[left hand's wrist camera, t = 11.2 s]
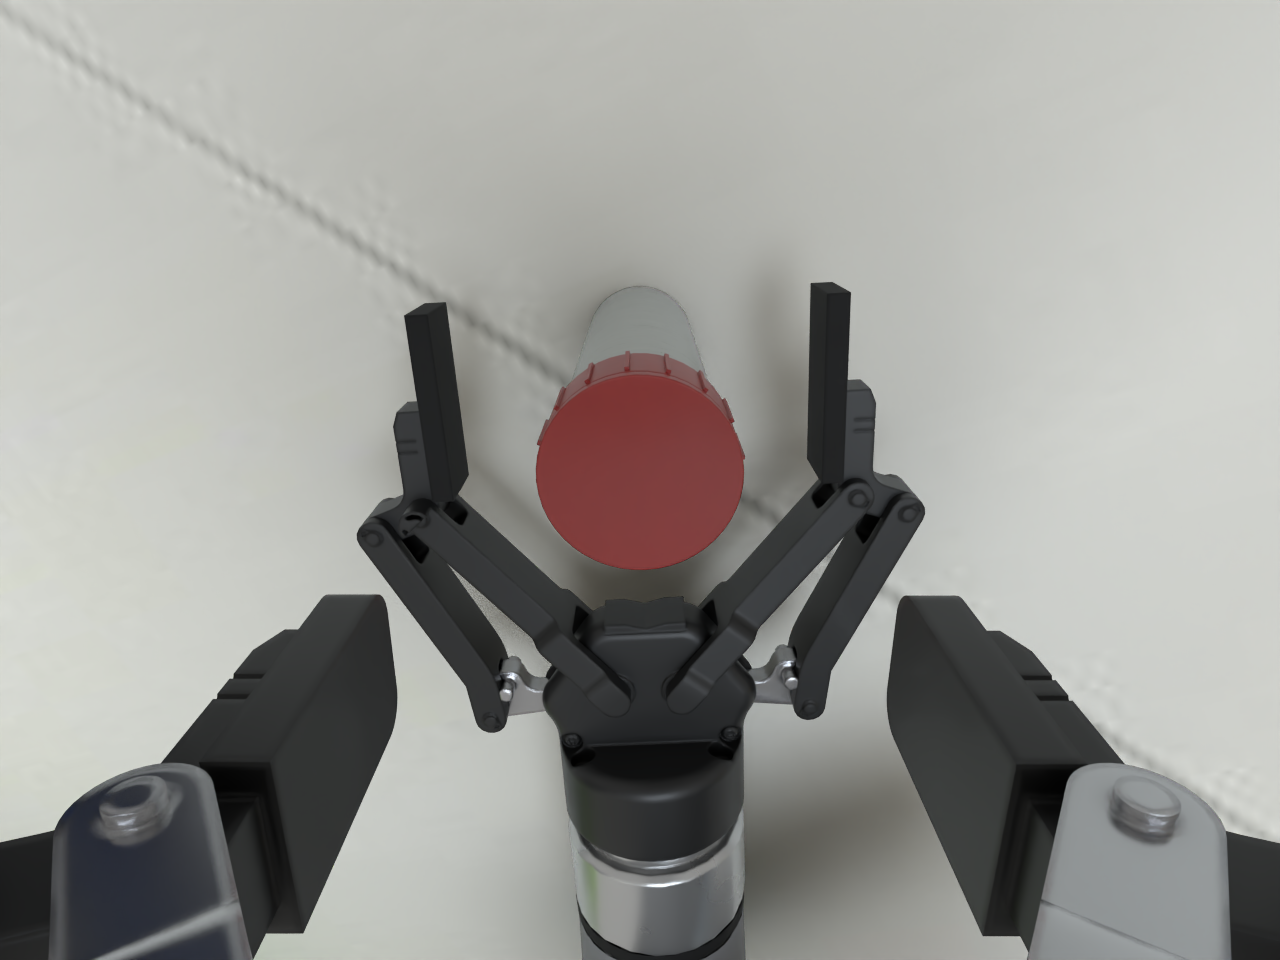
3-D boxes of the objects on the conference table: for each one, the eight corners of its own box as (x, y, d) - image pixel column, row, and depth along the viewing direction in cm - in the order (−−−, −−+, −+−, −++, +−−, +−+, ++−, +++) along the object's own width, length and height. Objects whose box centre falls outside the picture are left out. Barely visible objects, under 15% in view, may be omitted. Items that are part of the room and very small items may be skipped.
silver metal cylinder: (608, 400, 35) (583, 575, 20) (574, 305, 34) (520, 413, 18) (703, 370, 34) (754, 524, 19) (673, 272, 33) (701, 354, 18)
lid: (582, 552, 22) (576, 595, 19) (517, 385, 20) (501, 412, 18) (756, 499, 21) (770, 538, 19) (703, 324, 20) (711, 343, 17)
